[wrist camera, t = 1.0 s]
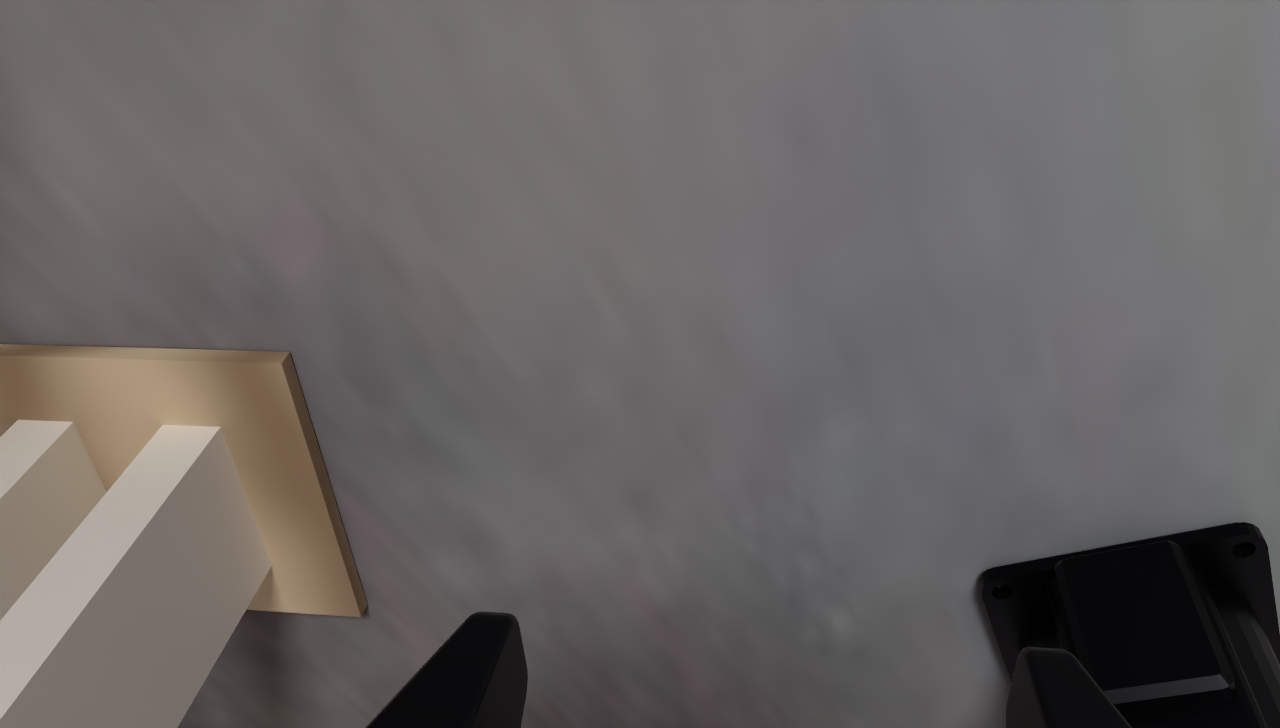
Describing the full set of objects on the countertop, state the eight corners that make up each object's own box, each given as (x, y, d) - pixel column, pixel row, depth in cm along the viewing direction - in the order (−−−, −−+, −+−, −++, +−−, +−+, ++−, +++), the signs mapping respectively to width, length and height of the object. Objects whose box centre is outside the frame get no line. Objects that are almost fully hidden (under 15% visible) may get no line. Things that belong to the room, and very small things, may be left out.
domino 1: (220, 427, 26) (-44, 778, 18) (272, 565, 29) (63, 922, 21) (162, 424, 26) (-125, 771, 18) (219, 562, 29) (-7, 914, 21)
